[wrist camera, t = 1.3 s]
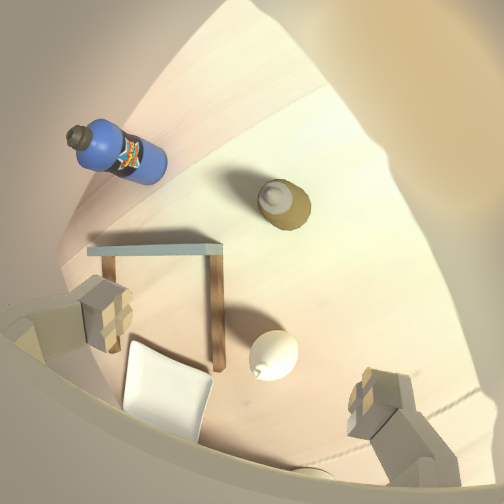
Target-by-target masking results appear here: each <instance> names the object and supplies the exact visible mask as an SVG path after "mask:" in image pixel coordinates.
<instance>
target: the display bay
mask: <svg viewBox="0 0 504 504" xmlns="http://www.w3.org/2000/svg"><path fill="white" fill-rule="evenodd" d="M163 255H210V297H211V328H212V353H213V372H222V371H223V370H224V369H225V368H226V356H225V325H224V285H223V244H209V243H199V244H163V245H130V246H100V247H87V256H102V271H103V278H105V279H108V280H110V281H112V282H114V283H116V275H115V256H163ZM116 341H117V342H116V343H115V344H114V345H113V346H112V347H111V348H110V350H109V351H108V352H109V353H112V354H114V353H117V352H119V351H121V347H120V337H119V336H116Z"/></svg>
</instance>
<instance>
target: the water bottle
mask: <svg viewBox="0 0 504 504" xmlns="http://www.w3.org/2000/svg"><path fill="white" fill-rule="evenodd" d="M66 138H67V144H68V146H69V147H72V148H73V149H75V150H76V156H77V160H78V162H79V164H80V165H81V166H82V167H84V168H86V169H90V170H93V171H98V172H101V171H104V172H111V173H113V174H115V175H116V176H118V177H120V178H124V179H127V180H130V181H133V182H137V183H140V184H143V185H152V184H154V183H156V182H158V181H159V180H160V179H161V178H162V176H163V175H164V173H165V171H166V168H167V156H166V154H165V152H164V151H163V150H162V149H161V148H159V147H157V146H155V145H153V144H151V143H150V142H148V141H146V140H144V139H141V138H139V137H137V136H134V135H130V134H127V133H125V132H124V131H123V130H121V129H120V128H119V127H118V126H117V125H115V124H113V123H111V122H109V121H107V120H105V119H97V120H95V121H93V122H91V123H90V124H89V125H88V126H87V127H84V126H80V125H76V126H74V127H73V128H71V129H70V130H69V131H68V132H67V135H66Z"/></svg>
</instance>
